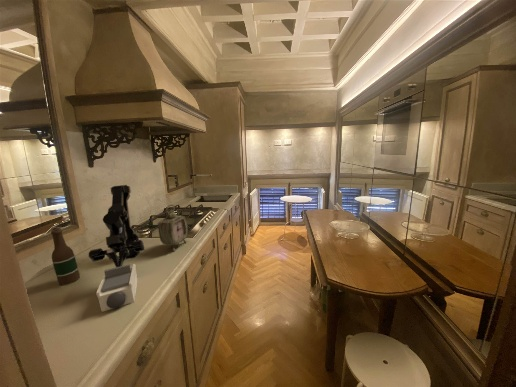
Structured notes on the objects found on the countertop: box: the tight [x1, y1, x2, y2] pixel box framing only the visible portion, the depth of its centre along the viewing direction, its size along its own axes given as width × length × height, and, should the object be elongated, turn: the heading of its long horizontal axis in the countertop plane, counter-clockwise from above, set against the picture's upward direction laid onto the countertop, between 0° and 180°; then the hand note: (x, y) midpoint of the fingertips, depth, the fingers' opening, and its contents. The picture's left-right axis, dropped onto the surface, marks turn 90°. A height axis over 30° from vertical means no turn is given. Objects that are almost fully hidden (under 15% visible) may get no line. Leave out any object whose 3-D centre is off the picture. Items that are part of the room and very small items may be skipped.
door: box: [102, 263, 132, 292], centre depth 80 cm, size 9×8×4 cm
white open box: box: [95, 263, 138, 312], centre depth 82 cm, size 17×10×8 cm, turn 25°
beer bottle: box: [50, 228, 81, 286], centre depth 93 cm, size 8×8×24 cm
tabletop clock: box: [157, 204, 189, 252], centre depth 120 cm, size 14×9×25 cm, turn 164°
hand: (118, 270), depth 85 cm, fingers closed
